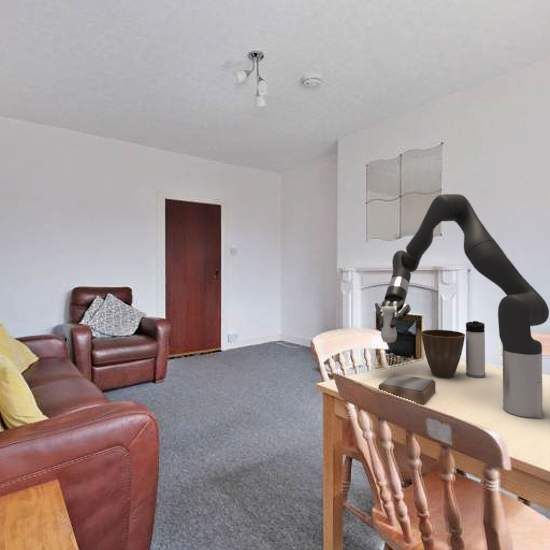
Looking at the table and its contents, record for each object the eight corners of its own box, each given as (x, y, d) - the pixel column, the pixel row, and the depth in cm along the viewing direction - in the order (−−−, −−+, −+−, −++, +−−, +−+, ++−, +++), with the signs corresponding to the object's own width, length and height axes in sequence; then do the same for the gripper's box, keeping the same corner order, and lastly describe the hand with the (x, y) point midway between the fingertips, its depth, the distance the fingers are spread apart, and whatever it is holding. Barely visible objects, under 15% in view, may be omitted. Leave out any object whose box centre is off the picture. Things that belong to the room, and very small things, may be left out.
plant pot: (452, 368, 146) (452, 329, 146) (473, 380, 131) (473, 336, 131) (415, 370, 146) (414, 330, 145) (432, 382, 131) (432, 337, 131)
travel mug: (485, 374, 139) (485, 321, 138) (484, 379, 133) (484, 324, 132) (467, 371, 142) (466, 320, 141) (465, 376, 136) (464, 322, 136)
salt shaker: (398, 343, 133) (397, 307, 132) (381, 343, 134) (380, 307, 133) (396, 339, 138) (395, 305, 138) (380, 339, 140) (379, 305, 139)
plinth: (435, 391, 121) (435, 379, 121) (423, 404, 110) (423, 391, 110) (393, 384, 130) (393, 372, 130) (378, 395, 119) (378, 383, 119)
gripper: (376, 284, 146) (365, 319, 136) (413, 284, 137) (403, 322, 128) (382, 296, 150) (371, 331, 141) (417, 297, 142) (408, 334, 132)
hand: (386, 326), depth 134 cm, fingers closed on salt shaker, 3 cm apart
